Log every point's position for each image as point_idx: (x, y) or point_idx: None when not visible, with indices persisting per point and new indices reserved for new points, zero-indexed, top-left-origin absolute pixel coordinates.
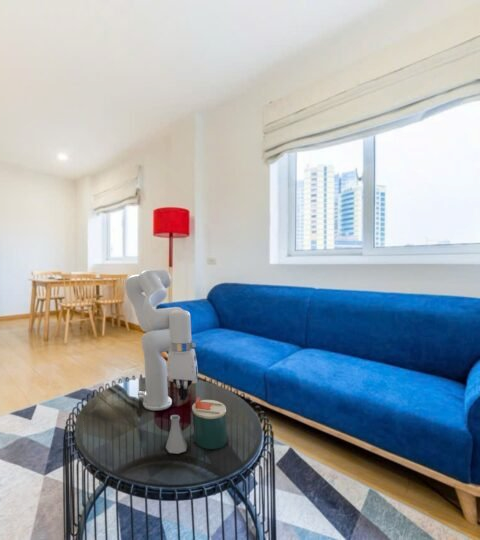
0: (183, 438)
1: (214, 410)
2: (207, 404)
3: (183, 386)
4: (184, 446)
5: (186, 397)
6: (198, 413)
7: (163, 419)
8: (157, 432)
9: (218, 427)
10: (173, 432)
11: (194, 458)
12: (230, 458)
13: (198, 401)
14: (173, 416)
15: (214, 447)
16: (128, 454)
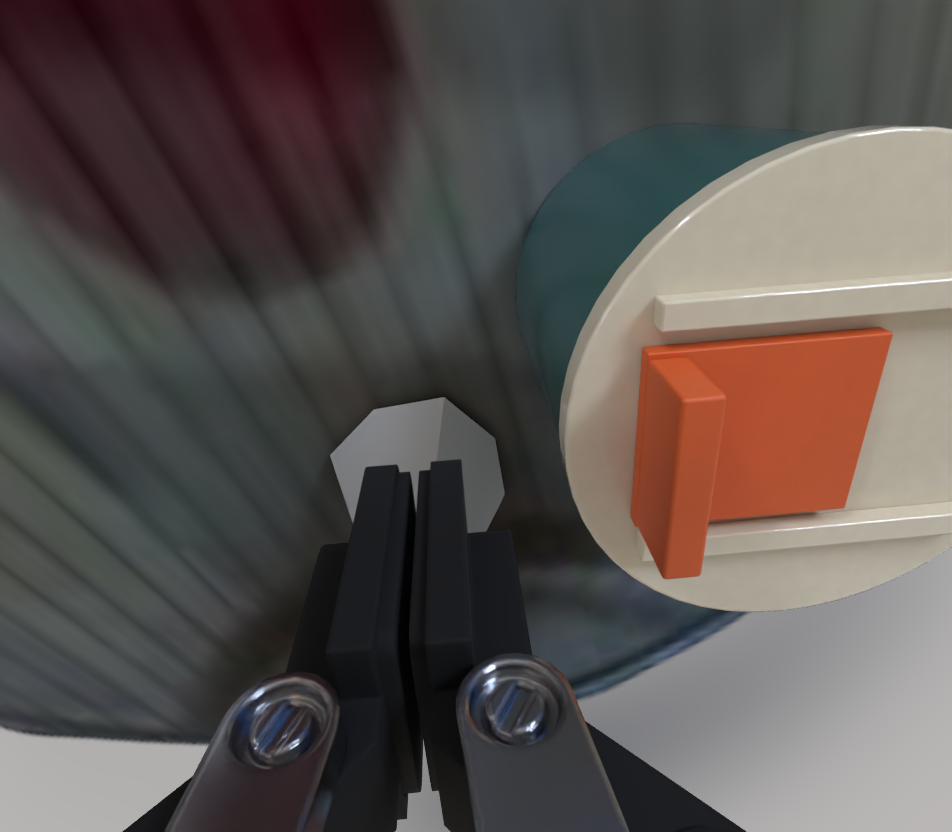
0: (481, 505)
1: (904, 468)
2: (820, 386)
3: (451, 825)
4: (496, 510)
5: (463, 486)
6: (684, 589)
7: (57, 90)
8: (166, 351)
9: None
10: None
11: (575, 524)
12: None
13: (704, 506)
14: None
15: None
16: (152, 623)
